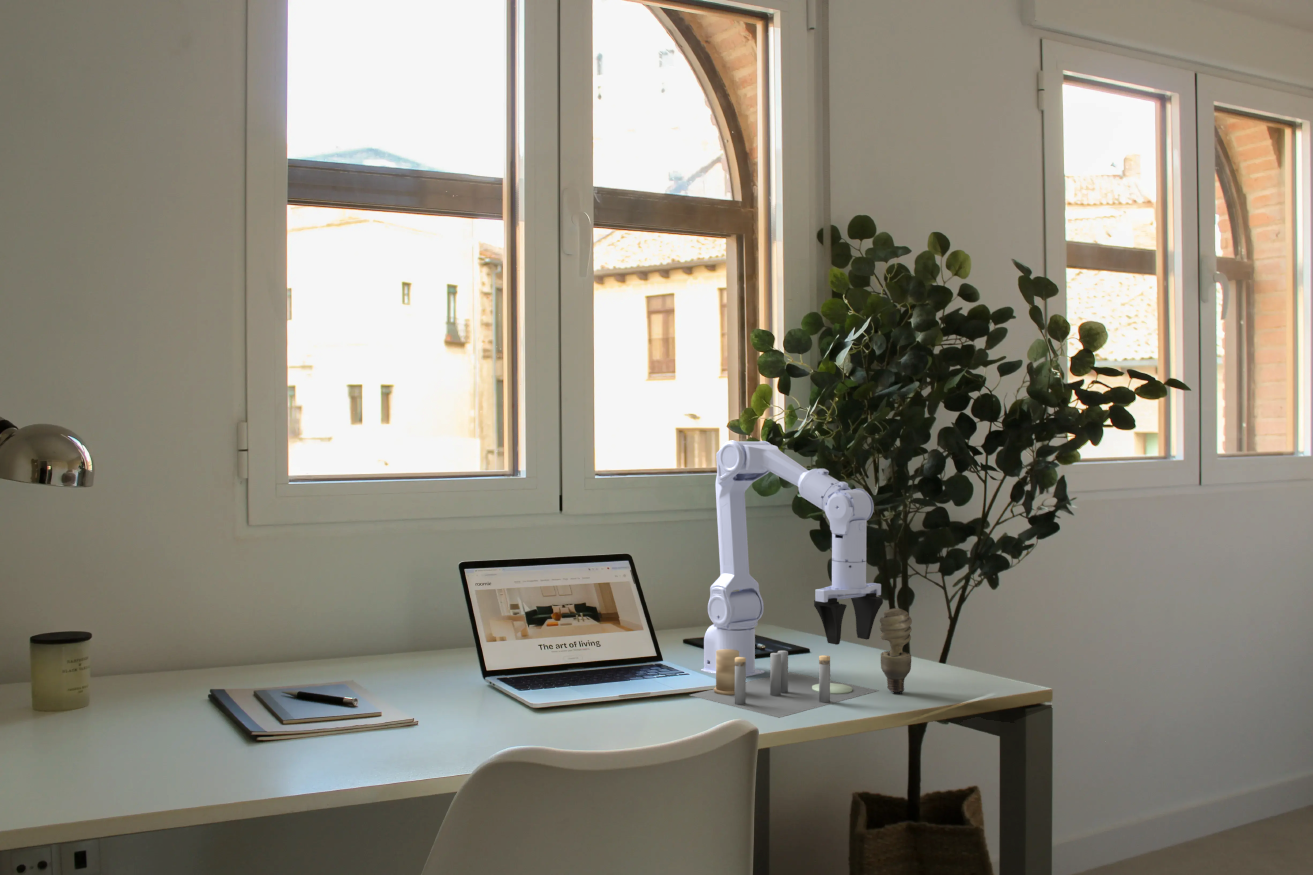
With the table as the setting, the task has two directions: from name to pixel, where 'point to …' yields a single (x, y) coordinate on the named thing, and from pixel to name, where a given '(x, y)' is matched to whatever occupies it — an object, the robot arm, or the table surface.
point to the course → (782, 689)
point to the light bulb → (896, 648)
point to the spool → (725, 671)
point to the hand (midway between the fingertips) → (848, 640)
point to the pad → (835, 688)
